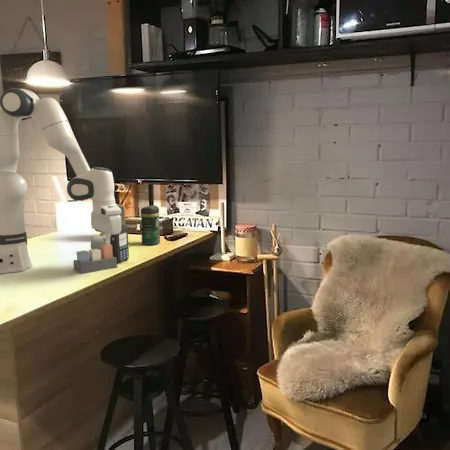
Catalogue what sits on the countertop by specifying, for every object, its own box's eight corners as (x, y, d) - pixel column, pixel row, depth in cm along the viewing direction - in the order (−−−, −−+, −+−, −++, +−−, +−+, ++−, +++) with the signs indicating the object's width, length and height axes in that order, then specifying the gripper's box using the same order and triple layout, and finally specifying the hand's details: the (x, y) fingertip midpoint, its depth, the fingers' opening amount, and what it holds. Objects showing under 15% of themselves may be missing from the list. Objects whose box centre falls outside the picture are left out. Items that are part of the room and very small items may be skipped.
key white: (93, 265, 217) (92, 251, 216) (89, 264, 220) (88, 249, 219) (101, 264, 220) (100, 249, 219) (97, 262, 222) (96, 248, 221)
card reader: (118, 264, 226) (117, 228, 224) (110, 264, 228) (108, 228, 225) (130, 259, 235) (128, 224, 232) (121, 259, 236) (120, 224, 234)
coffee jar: (155, 246, 261) (154, 207, 258) (139, 245, 263) (138, 206, 260) (162, 242, 271) (161, 204, 268) (147, 241, 272) (145, 204, 269)
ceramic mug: (105, 255, 244) (105, 238, 243) (90, 253, 247) (89, 236, 246) (119, 250, 254) (118, 234, 253) (104, 249, 257) (103, 233, 256)
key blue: (81, 267, 214) (80, 253, 213) (77, 266, 217) (76, 251, 216) (89, 266, 217) (88, 251, 216) (85, 264, 219) (85, 250, 218)
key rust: (104, 260, 220) (104, 246, 219) (101, 258, 223) (100, 244, 222) (112, 259, 222) (112, 244, 221) (108, 257, 225) (108, 243, 224)
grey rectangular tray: (81, 273, 213) (81, 263, 212) (74, 270, 219) (73, 260, 218) (117, 267, 222) (116, 257, 221) (108, 264, 228) (108, 254, 227)
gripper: (85, 206, 225) (88, 239, 228) (108, 211, 209) (110, 247, 212) (100, 204, 229) (102, 237, 232) (123, 209, 213) (125, 245, 216)
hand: (106, 242), depth 222 cm, fingers closed
